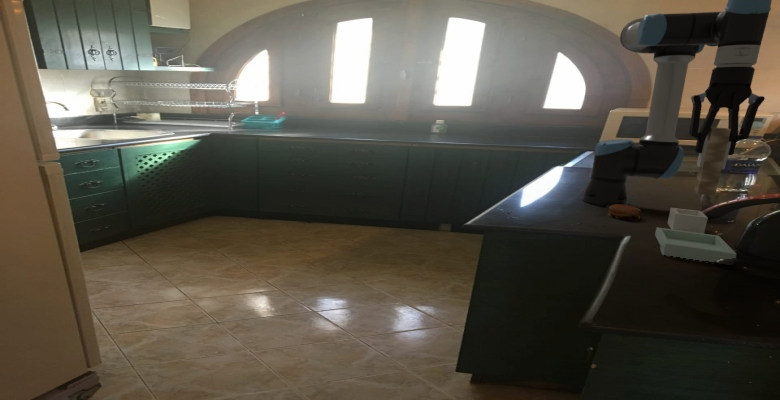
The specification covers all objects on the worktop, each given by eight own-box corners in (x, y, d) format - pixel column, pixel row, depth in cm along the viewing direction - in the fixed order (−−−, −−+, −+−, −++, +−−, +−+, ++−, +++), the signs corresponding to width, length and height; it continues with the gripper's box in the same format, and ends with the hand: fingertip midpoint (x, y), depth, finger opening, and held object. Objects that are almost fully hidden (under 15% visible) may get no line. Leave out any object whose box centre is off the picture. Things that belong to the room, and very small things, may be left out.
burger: (603, 213, 134) (605, 200, 133) (634, 216, 132) (636, 203, 131) (610, 222, 125) (613, 208, 124) (643, 226, 123) (646, 211, 122)
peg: (697, 193, 98) (712, 128, 93) (693, 190, 101) (708, 127, 96) (714, 195, 96) (731, 129, 92) (710, 192, 99) (726, 128, 95)
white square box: (671, 233, 116) (675, 213, 114) (666, 226, 122) (670, 207, 121) (702, 237, 113) (707, 217, 111) (696, 230, 119) (700, 211, 118)
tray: (663, 255, 99) (665, 243, 98) (654, 238, 112) (656, 227, 111) (733, 266, 94) (736, 253, 93) (715, 247, 106) (718, 235, 105)
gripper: (693, 65, 91) (672, 166, 97) (788, 65, 84) (759, 173, 90) (686, 68, 97) (667, 162, 103) (773, 67, 91) (747, 168, 97)
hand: (710, 167), depth 97 cm, fingers closed on peg, 3 cm apart
